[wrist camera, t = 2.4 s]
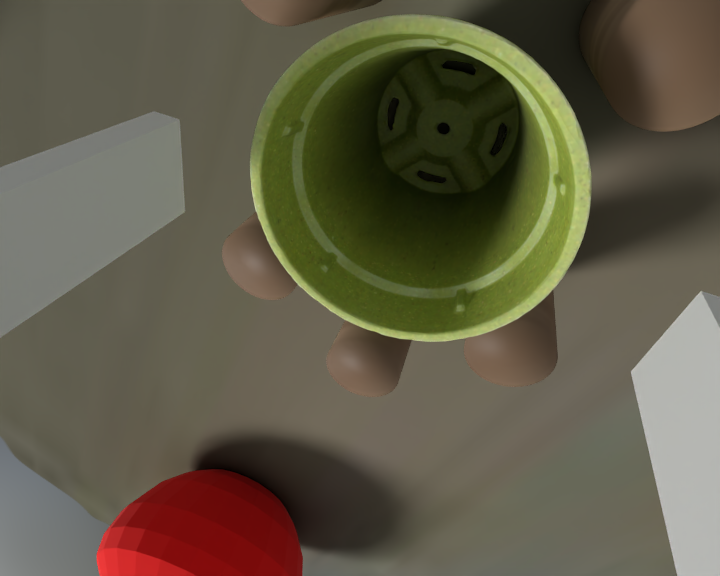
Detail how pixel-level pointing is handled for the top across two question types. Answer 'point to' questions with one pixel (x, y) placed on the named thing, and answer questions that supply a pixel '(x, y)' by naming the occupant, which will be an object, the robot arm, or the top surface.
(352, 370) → the posts
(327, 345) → the top surface
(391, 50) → the plant pot
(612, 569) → the top surface
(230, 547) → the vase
